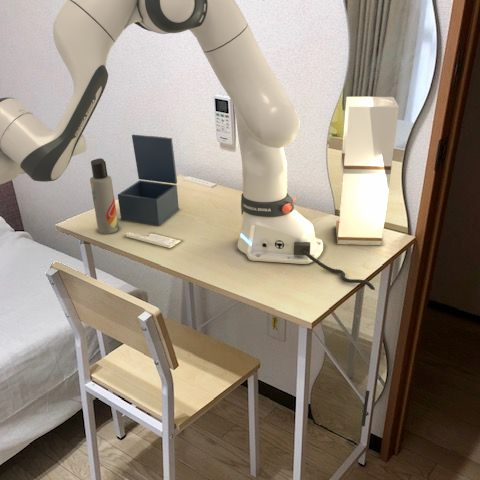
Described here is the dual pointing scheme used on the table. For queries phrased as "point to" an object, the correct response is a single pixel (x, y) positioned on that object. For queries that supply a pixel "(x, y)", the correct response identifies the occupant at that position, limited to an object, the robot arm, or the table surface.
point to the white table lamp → (366, 168)
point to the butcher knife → (154, 239)
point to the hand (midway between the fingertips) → (63, 133)
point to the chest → (148, 202)
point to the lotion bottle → (103, 197)
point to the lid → (155, 158)
